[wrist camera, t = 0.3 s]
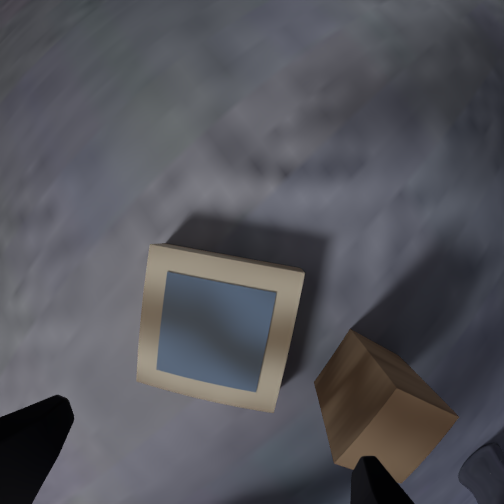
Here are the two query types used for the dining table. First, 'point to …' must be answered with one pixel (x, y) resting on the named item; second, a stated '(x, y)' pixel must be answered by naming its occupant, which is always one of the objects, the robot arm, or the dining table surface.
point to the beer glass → (485, 474)
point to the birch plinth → (217, 325)
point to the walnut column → (379, 408)
